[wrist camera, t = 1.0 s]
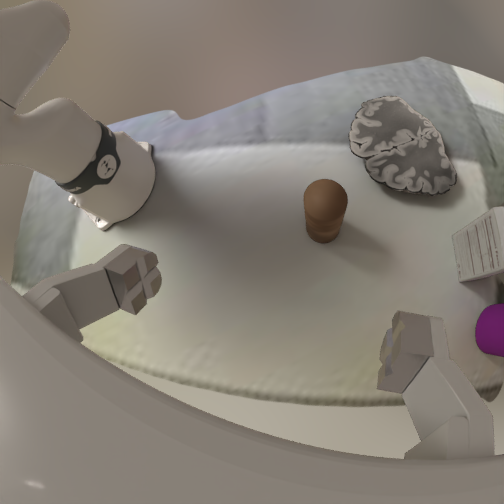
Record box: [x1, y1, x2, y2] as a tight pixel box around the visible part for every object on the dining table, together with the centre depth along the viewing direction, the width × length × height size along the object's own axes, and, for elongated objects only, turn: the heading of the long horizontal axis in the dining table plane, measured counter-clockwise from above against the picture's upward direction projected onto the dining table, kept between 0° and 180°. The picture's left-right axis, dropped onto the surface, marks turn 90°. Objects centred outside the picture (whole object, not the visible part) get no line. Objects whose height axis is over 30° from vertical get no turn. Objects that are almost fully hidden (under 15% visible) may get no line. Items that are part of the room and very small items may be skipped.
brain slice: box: [349, 96, 457, 196], centre depth 37 cm, size 20×17×3 cm
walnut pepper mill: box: [304, 179, 348, 243], centre depth 33 cm, size 5×5×10 cm
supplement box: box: [452, 207, 504, 282], centre depth 26 cm, size 7×7×13 cm
